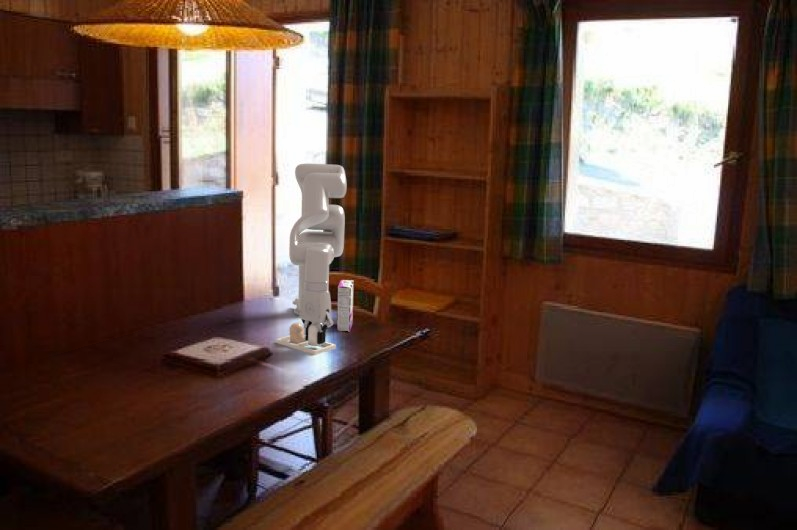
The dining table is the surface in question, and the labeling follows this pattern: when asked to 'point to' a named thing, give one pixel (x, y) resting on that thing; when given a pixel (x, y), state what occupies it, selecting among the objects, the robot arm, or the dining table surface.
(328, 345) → the caddy
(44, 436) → the dining table surface
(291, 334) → the brown egg
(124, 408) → the dining table surface
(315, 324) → the white egg
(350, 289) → the candy bar box
